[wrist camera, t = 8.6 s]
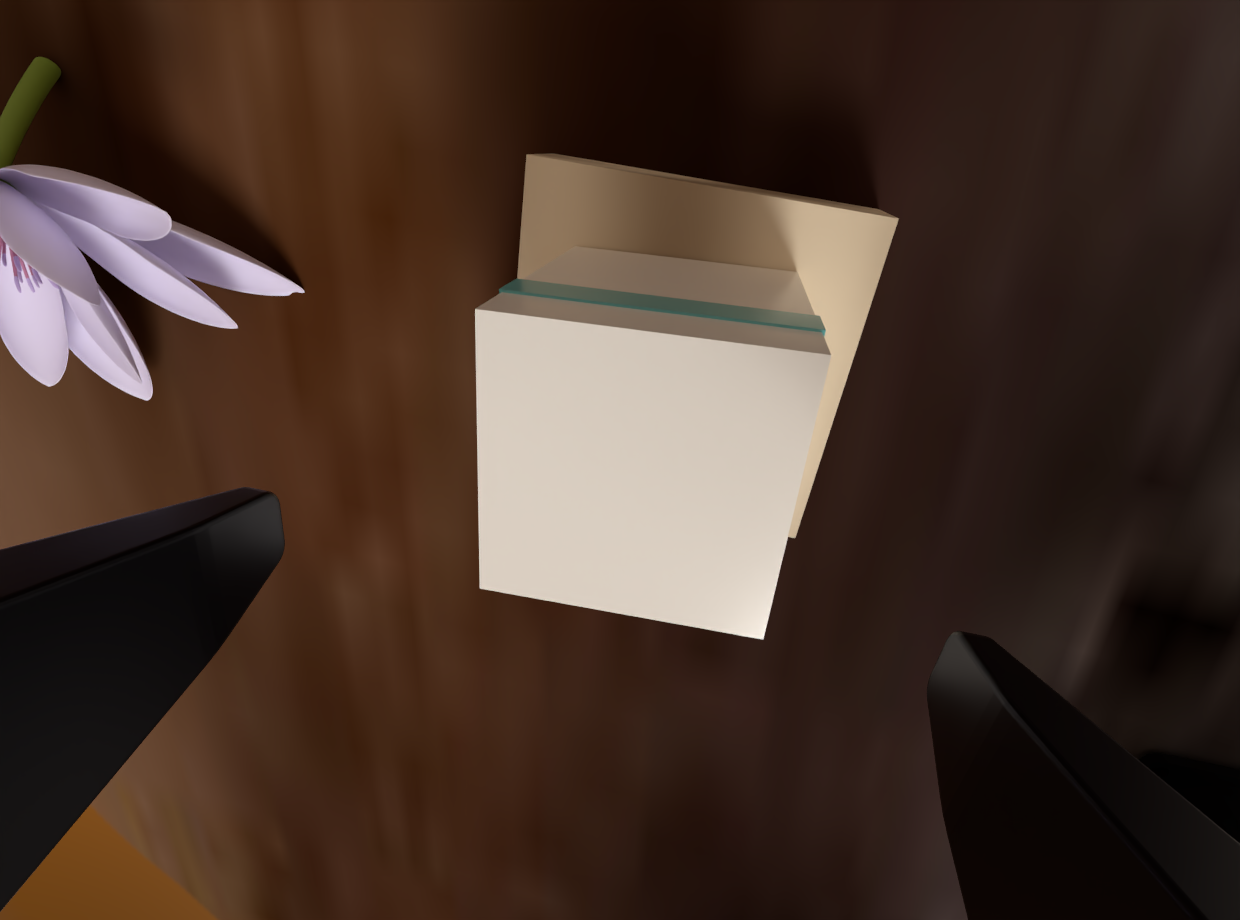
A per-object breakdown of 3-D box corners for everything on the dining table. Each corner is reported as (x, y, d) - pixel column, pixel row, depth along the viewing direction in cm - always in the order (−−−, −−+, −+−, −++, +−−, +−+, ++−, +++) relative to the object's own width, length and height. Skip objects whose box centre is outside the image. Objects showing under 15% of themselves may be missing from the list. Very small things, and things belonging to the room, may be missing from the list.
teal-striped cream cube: (799, 270, 16) (836, 351, 10) (758, 474, 19) (765, 642, 12) (573, 244, 17) (472, 305, 10) (563, 444, 19) (477, 589, 13)
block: (875, 207, 18) (898, 218, 15) (788, 490, 22) (795, 538, 19) (558, 153, 19) (526, 154, 16) (531, 436, 23) (502, 474, 20)
